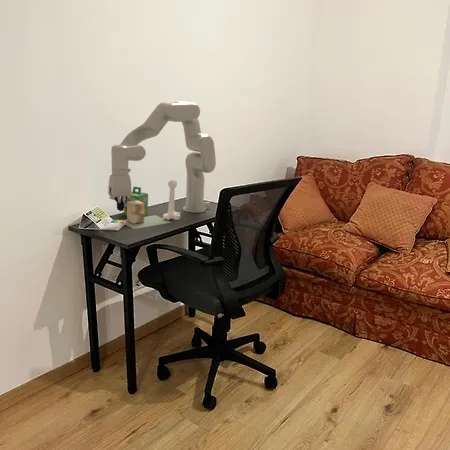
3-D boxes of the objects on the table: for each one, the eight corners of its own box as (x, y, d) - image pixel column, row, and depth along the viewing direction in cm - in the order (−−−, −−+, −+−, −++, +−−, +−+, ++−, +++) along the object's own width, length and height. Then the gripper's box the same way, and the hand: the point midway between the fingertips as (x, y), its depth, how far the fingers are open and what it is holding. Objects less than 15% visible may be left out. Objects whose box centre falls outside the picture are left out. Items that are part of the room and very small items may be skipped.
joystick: (173, 215, 249) (175, 177, 244) (185, 218, 246) (187, 179, 240) (160, 219, 239) (162, 180, 234) (173, 222, 236) (175, 182, 231)
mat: (155, 216, 246) (155, 215, 246) (171, 223, 235) (171, 222, 235) (118, 221, 233) (118, 220, 233) (133, 229, 222) (133, 228, 222)
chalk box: (123, 215, 243) (123, 187, 239) (133, 212, 251) (133, 184, 247) (138, 218, 240) (138, 190, 235) (148, 214, 248) (148, 187, 243)
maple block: (137, 219, 236) (137, 200, 233) (144, 222, 232) (144, 203, 229) (127, 221, 233) (127, 201, 230) (133, 224, 228) (133, 204, 225)
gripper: (130, 169, 227) (130, 206, 233) (101, 171, 218) (102, 210, 223) (138, 172, 222) (138, 210, 227) (108, 174, 213) (109, 214, 218)
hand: (120, 210), depth 225 cm, fingers closed
